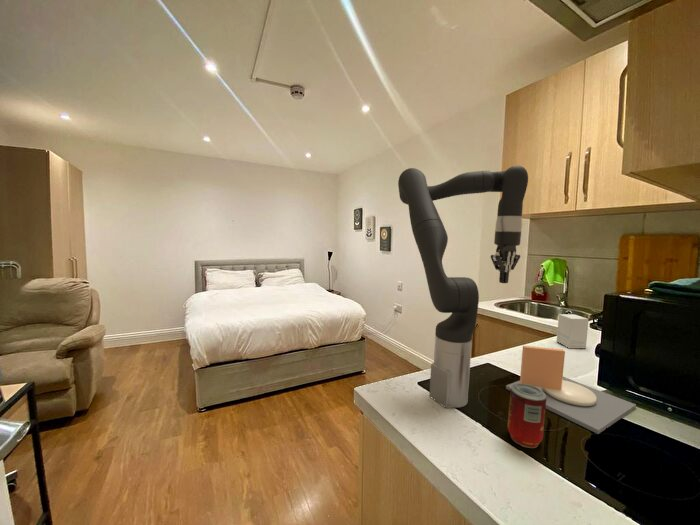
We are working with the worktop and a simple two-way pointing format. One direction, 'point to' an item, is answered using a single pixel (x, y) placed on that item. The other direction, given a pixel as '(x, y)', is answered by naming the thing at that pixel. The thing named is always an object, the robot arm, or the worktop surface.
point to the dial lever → (552, 376)
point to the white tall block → (572, 330)
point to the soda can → (526, 415)
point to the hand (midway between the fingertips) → (503, 282)
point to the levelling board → (589, 409)
